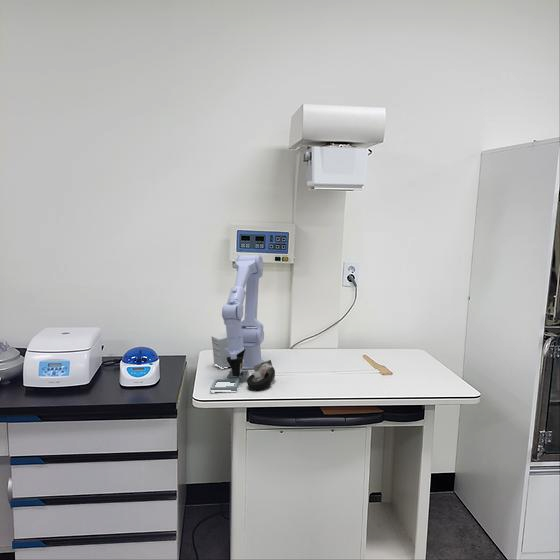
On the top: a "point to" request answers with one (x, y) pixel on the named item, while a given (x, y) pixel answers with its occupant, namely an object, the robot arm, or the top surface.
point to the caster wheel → (261, 376)
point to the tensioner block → (242, 377)
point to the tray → (232, 388)
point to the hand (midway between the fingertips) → (237, 372)
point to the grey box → (220, 350)
